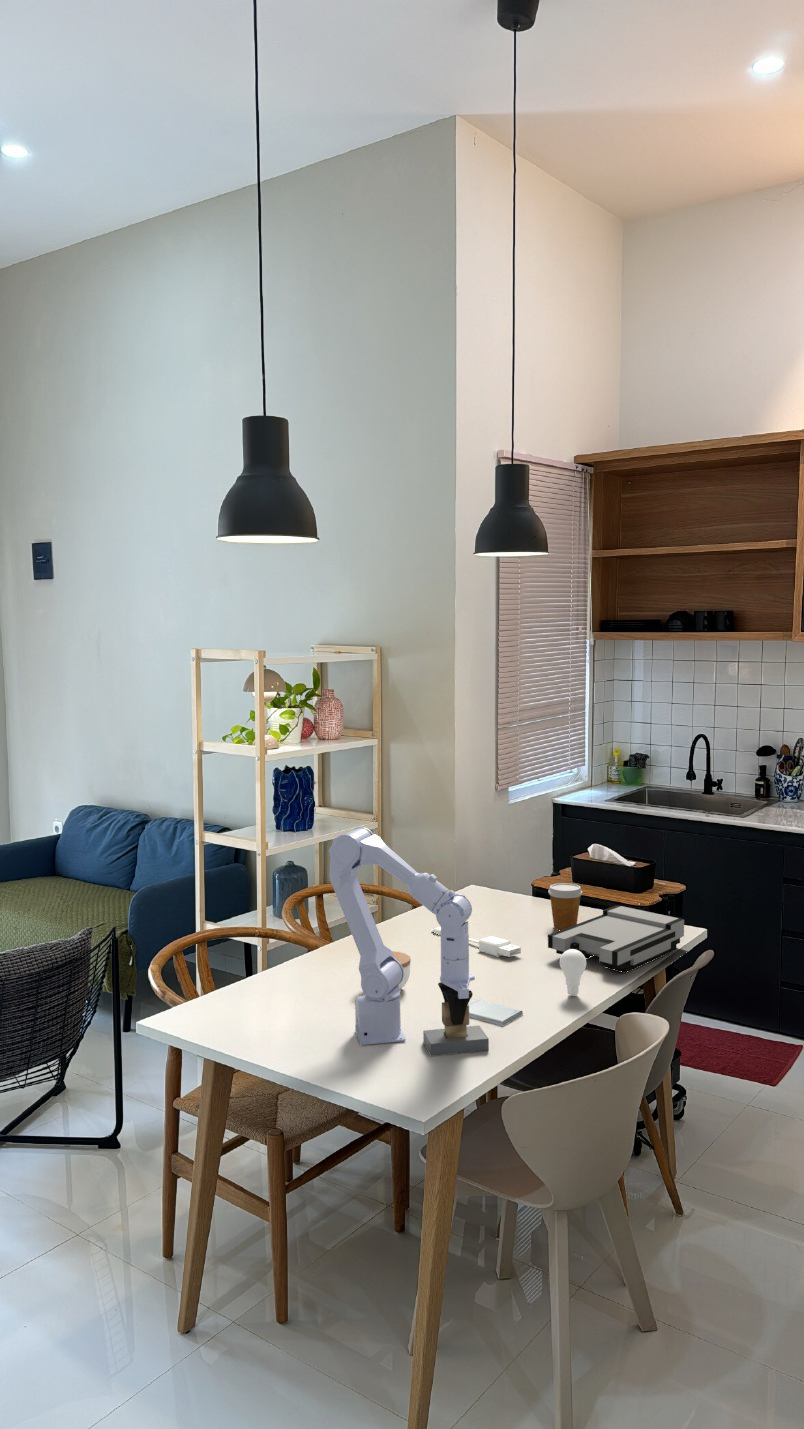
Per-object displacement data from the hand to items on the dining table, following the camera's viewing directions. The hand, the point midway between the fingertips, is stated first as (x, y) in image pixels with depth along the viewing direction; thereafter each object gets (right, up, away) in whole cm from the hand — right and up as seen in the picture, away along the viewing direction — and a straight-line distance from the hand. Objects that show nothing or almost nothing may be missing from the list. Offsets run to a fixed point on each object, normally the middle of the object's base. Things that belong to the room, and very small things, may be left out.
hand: (455, 1020), depth 207 cm
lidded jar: (-14, -3, +34) cm, 37 cm away
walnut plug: (0, -4, 0) cm, 4 cm away
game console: (+45, -1, +58) cm, 73 cm away
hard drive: (+8, -5, +18) cm, 20 cm away
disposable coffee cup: (+36, +2, +81) cm, 89 cm away
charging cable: (+9, 0, +67) cm, 68 cm away
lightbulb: (+29, -3, +28) cm, 40 cm away
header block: (0, -5, 0) cm, 5 cm away
